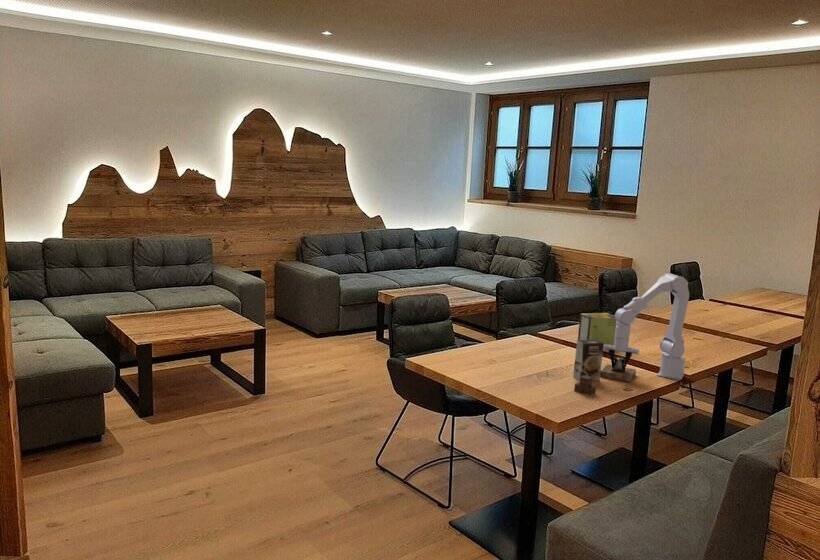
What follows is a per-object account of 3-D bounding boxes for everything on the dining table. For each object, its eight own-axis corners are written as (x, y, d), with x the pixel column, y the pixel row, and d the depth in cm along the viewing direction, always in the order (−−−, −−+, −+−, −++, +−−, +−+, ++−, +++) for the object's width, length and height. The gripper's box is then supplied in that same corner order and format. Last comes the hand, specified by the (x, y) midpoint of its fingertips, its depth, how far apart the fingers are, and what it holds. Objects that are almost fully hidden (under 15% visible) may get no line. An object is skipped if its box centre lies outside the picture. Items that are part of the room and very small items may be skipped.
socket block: (635, 375, 272) (635, 369, 272) (629, 382, 262) (629, 377, 262) (606, 369, 278) (607, 364, 278) (599, 376, 268) (600, 371, 268)
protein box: (615, 348, 313) (619, 317, 310) (587, 349, 309) (590, 318, 306) (604, 342, 323) (607, 312, 320) (576, 343, 319) (579, 313, 316)
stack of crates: (612, 393, 250) (614, 376, 249) (594, 402, 239) (596, 385, 238) (577, 383, 260) (578, 367, 259) (559, 392, 249) (560, 375, 248)
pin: (623, 374, 271) (625, 358, 270) (622, 376, 268) (624, 360, 266) (613, 372, 273) (615, 356, 272) (612, 375, 269) (614, 359, 268)
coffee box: (580, 381, 261) (584, 343, 258) (572, 376, 267) (576, 339, 264) (600, 380, 263) (604, 343, 260) (592, 375, 269) (595, 338, 266)
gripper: (640, 337, 268) (636, 368, 271) (604, 332, 273) (601, 363, 276) (640, 341, 262) (636, 373, 264) (603, 336, 267) (600, 367, 269)
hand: (618, 368), depth 269 cm, fingers closed on pin, 4 cm apart
